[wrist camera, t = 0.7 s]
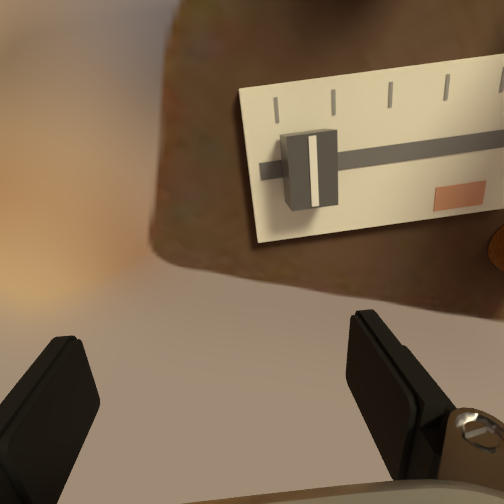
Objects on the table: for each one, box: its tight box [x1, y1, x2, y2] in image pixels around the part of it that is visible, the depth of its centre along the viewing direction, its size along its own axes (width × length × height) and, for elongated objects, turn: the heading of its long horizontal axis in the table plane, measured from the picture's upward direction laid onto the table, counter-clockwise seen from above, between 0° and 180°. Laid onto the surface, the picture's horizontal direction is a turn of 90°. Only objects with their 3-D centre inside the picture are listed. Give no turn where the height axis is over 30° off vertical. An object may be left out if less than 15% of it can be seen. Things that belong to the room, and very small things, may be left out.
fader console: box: [238, 54, 504, 243], centre depth 30 cm, size 26×14×2 cm, turn 97°
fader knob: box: [280, 129, 338, 211], centre depth 27 cm, size 4×6×4 cm, turn 7°
